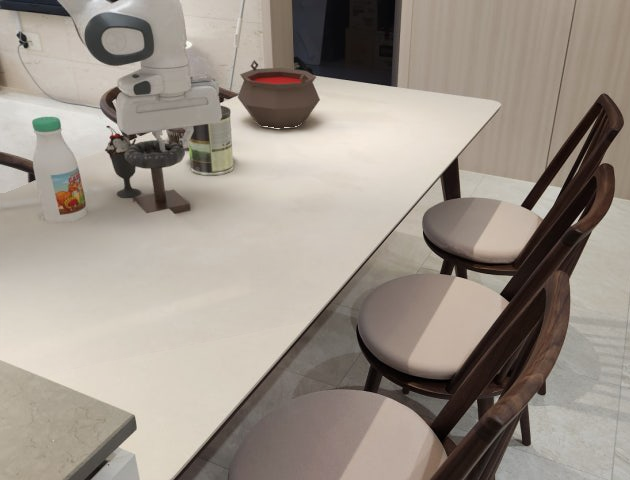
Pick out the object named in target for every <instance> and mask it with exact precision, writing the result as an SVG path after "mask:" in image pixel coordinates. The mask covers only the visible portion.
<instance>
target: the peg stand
mask: <svg viewBox="0 0 630 480" xmlns="http://www.w3.org/2000/svg"><path fill="white" fill-rule="evenodd" d="M158 153H159V152H152V153H149V154H158ZM150 172H151V173H150V174H151V180H152V187H153V192H152V193H147V194H143V195H138V196H135V197H131V199H132V203H136V204H137V205H138V206H139V207H140V208H141V209H142V210H143V211H144V212H145V213H146V214H148V213H153V212H159V211H164V210H170V211H171V212H172V213H173V214H179V213H184V212H188V211H191V204H190V202H189V201H188V200H186V199H185V198H184V197H183V196H182V195H181V194H180V193H179V192H177V190H175V189H169V190H166V186H165V179H164V171H163V168H158V169H150Z"/></svg>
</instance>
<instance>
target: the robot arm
mask: <svg viewBox="0 0 630 480" xmlns="http://www.w3.org/2000/svg"><path fill="white" fill-rule="evenodd" d="M56 1H57V2H58V3H59V4H60V5H61V7H63V8H64V10H65V11H66V12H67V13H68V14H69V17H70V18H71V20H72V23H73V26H74V28H75V31H76V33H77V36H78V38H79V39H80V41H81V43H82V44H83V45H84V47H85V48H86V49H87V50H88V52H89V53H90V54H91V56H92V57H93V58H94V59H95V60H97V61H98V62H100V63H101V64H104V65H107V66H112V67H118V66H119V67H120V66H124V65H125V66H126V65H130V64H134V63H138V62H140V68H139V69H137V70H135V71H133V72H130V73H128V74H126V75H123V76H122V77H119V78H118V79H117V81H116V85H117V89H119V91H120V92H119V93H118V94H117V96H116V100H115V114H116V123H117V128H118V129H119V130H120V131H121V132H122V133H123V134H125V135H126V136H130V135H138V134H145V133H151V134H152V135H153V137H154V138H155V140H158V142H159V146H160V150H161V151H162V152H166V151H170V148H169V142H167V141H168V140H166V141H163V140H164V139H163V138H162V137H161V136H163V135H164V134H163V131H166V130H167V129H175V128H182V127H183V129H184V130H186V131H185V133H184V136H183V138H180V139H179V142H180V146H181V147H182V148H183V149H185V148H190V143H189V140H190V138H191V136H192V134H193V132H194V128H193V126H196V125H203V124H211V123H218V122H219V121H220V120H221V118H222V112H221V106H222V105H221V102H220V98H219V94H220V86H219V81H218V80H217V79H216V78H215V77H212V76H211V75H203V76H191V69H190V61H189V58H188V55H187V50H186V46H187V40H188V39H187V29H186V22H185V16H184V11H183V7H182V3H181V0H117V1H114V2H113V1H111V0H56ZM220 105H221V106H220Z"/></svg>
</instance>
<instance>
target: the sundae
mask: <svg viewBox="0 0 630 480" xmlns="http://www.w3.org/2000/svg"><path fill="white" fill-rule="evenodd" d="M106 128H107V129H110V131H111V134H110V135H109V140H110V141H108V142H107V146H106V148H105V149H104V151H105V152H106V153H107V154H108V155H109V157H110V158H109V159H110V160H111V164H112V167H113V170H114V172H115V174H116V176H118V177H119V178H121V179H122V180H123V183H124V187H123V188H122V189H120V190H118V191H117V192H116V196H117V197H120V198H122V199H123V198H124V199H125V198H127V199H128V198H132V197H137V196H140V194H141V193H142V192H141V190H140V189H138V188H133V187H132V185H131V181H130V180H131V178H132V177H133V176H134V175H135V173H136V168H137V167H135V166H132V165H131V164H130V163H129V162H128V161H127V160H126V159H125V156H124V155H125V152H126V150H127V149H128V148H129V147H130V146H131V145H134V144H136V140H137V139H136V138H134V139H133V141H132V143H131V141H130V138H129V137H127V136H126V135H122V134H120V133H118V132H116V131H115V130H114V129H113V128H112V127H111V125H106Z"/></svg>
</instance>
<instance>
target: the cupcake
mask: <svg viewBox="0 0 630 480" xmlns="http://www.w3.org/2000/svg"><path fill="white" fill-rule="evenodd" d="M165 131H166V132H165V133H166V134H167V139H168V141H171V142H175V143H177V144H179V145H180V142H179V139H180V138H183V136H184V133H185V131H186V130H184V129H183V127H182V128H175V129H167V130H165ZM186 150H187V151H189V148H185V149H184V151H186Z"/></svg>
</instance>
